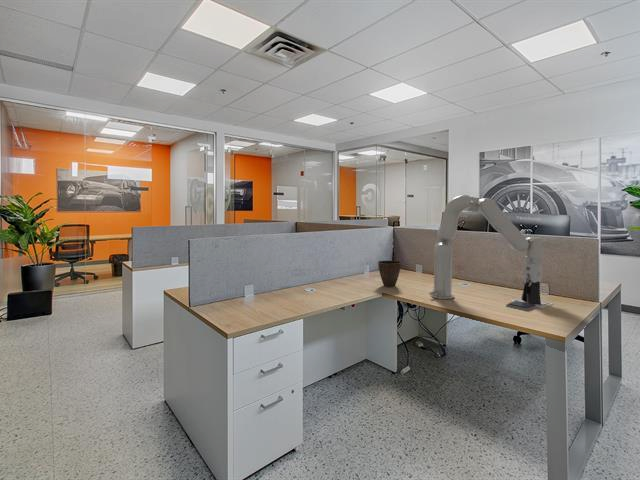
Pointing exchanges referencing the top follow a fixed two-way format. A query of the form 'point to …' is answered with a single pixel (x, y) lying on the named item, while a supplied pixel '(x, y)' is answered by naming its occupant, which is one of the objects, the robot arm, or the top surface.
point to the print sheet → (535, 304)
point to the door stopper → (532, 294)
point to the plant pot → (389, 272)
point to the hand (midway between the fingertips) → (531, 292)
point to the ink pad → (521, 305)
